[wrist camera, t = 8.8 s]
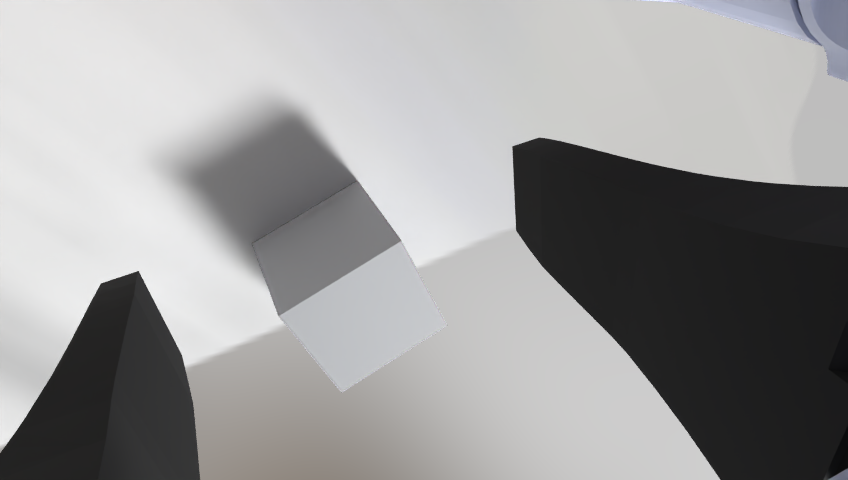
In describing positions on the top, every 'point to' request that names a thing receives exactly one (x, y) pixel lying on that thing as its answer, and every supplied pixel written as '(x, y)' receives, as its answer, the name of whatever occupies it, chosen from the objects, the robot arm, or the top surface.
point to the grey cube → (347, 286)
